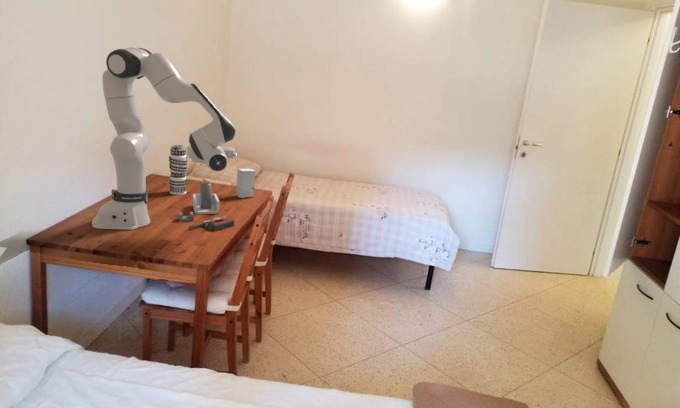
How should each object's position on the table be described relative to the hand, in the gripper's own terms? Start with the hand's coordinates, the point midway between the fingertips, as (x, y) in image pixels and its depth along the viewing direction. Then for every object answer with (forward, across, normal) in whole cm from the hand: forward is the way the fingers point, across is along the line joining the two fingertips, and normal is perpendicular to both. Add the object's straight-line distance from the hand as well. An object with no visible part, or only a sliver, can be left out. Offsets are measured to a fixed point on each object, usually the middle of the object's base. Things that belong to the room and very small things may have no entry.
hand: (209, 148), depth 211 cm
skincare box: (+32, -23, +32) cm, 51 cm away
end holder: (+10, 0, +32) cm, 34 cm away
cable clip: (-4, +10, +32) cm, 34 cm away
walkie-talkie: (-15, -1, +33) cm, 36 cm away
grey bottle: (+10, 0, +31) cm, 33 cm away
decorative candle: (+40, +11, +32) cm, 53 cm away
